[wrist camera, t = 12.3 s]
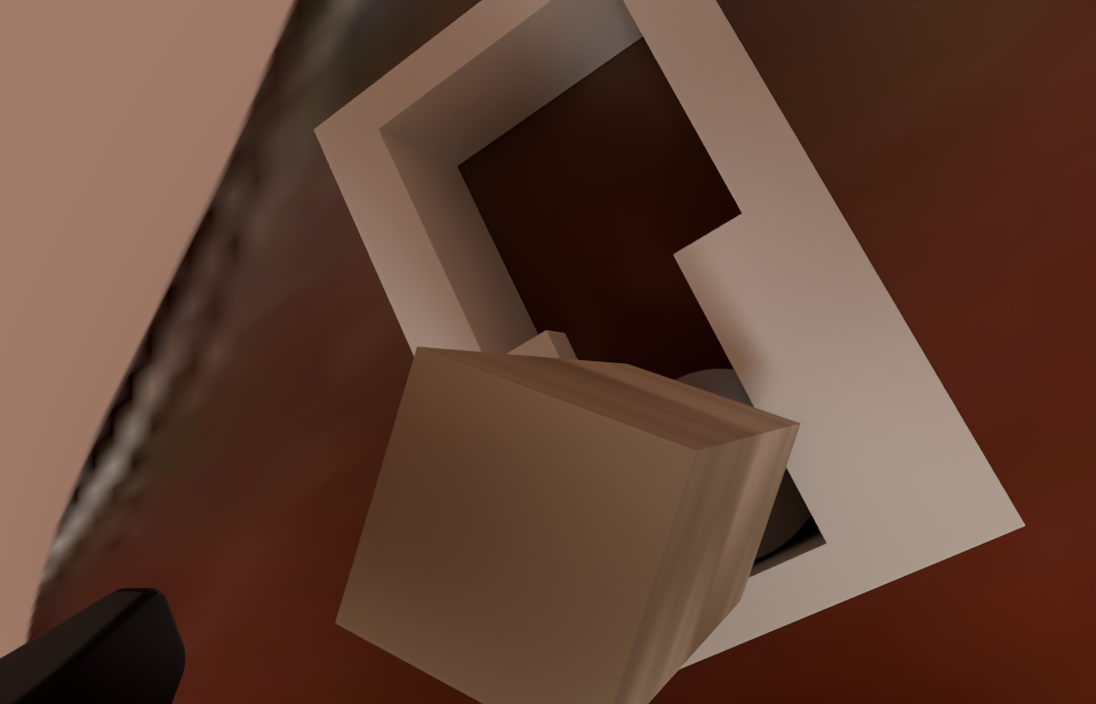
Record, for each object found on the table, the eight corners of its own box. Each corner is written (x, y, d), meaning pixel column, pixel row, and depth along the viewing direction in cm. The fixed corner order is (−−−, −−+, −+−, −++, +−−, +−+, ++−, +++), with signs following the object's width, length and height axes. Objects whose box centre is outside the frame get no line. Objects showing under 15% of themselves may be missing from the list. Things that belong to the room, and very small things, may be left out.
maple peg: (795, 577, 19) (618, 823, 8) (629, 509, 21) (297, 641, 10) (854, 404, 19) (751, 424, 8) (682, 348, 21) (398, 300, 10)
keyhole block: (1008, 500, 18) (1025, 525, 15) (629, 662, 21) (572, 713, 18) (688, -43, 21) (642, -124, 18) (398, 165, 24) (313, 129, 21)
